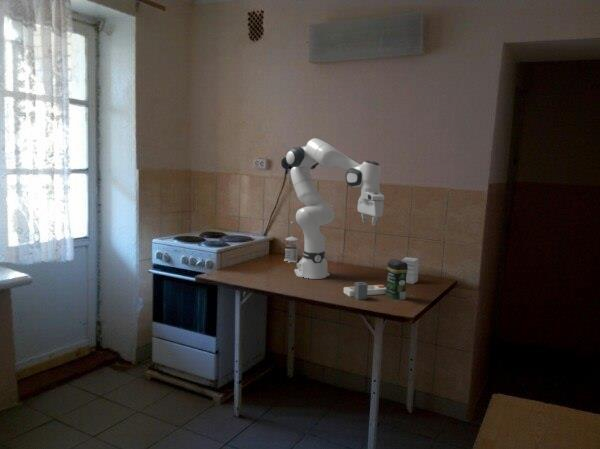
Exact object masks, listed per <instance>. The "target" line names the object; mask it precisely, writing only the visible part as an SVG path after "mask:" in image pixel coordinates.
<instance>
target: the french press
mask: <svg viewBox="0 0 600 449" xmlns="http://www.w3.org/2000/svg"><path fill="white" fill-rule="evenodd" d="M294 223H295V222H294V221H290V224H294ZM284 240H285V241H287V242H291V243H290V244H286V245H285V248H284V252H285V254H284V259H283V260H284V261H288V262H287V263H290V262H294V263H298V262H299V261H298V260H299V259H298V254H299V253H300V251H299V247H298V246H300V245H299V243H298V242H297V241H299V239H298V237H294V236H293V235H291V236H288V237H286V238H285V239H284ZM293 242H294V244H293ZM284 261H283V262H284ZM297 261H298V262H297Z"/></svg>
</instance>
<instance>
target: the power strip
mask: <svg viewBox="0 0 600 449" xmlns="http://www.w3.org/2000/svg"><path fill="white" fill-rule="evenodd" d="M386 287H387V286H385V285H384V284H375V285H368V289H367V296H377V295H386ZM343 293H344V294H345V295H347V296H348V297H354V286H344V287H343Z"/></svg>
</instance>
